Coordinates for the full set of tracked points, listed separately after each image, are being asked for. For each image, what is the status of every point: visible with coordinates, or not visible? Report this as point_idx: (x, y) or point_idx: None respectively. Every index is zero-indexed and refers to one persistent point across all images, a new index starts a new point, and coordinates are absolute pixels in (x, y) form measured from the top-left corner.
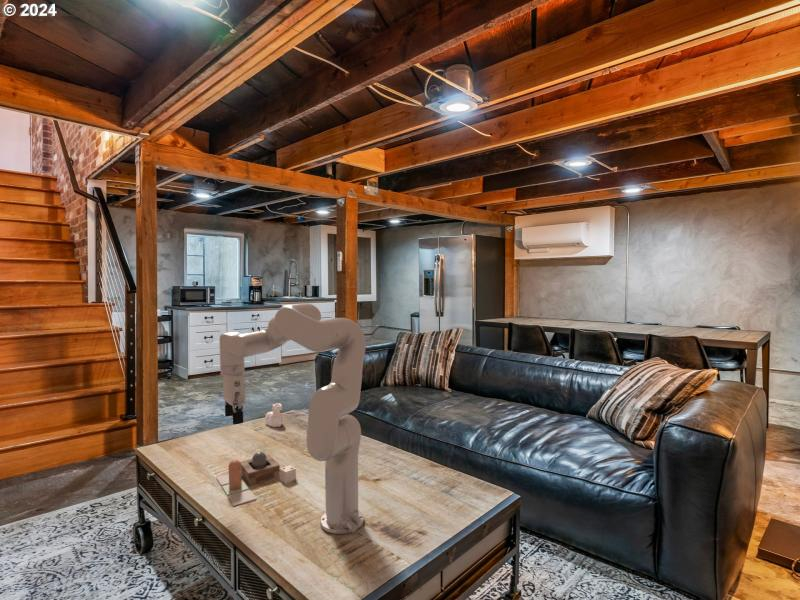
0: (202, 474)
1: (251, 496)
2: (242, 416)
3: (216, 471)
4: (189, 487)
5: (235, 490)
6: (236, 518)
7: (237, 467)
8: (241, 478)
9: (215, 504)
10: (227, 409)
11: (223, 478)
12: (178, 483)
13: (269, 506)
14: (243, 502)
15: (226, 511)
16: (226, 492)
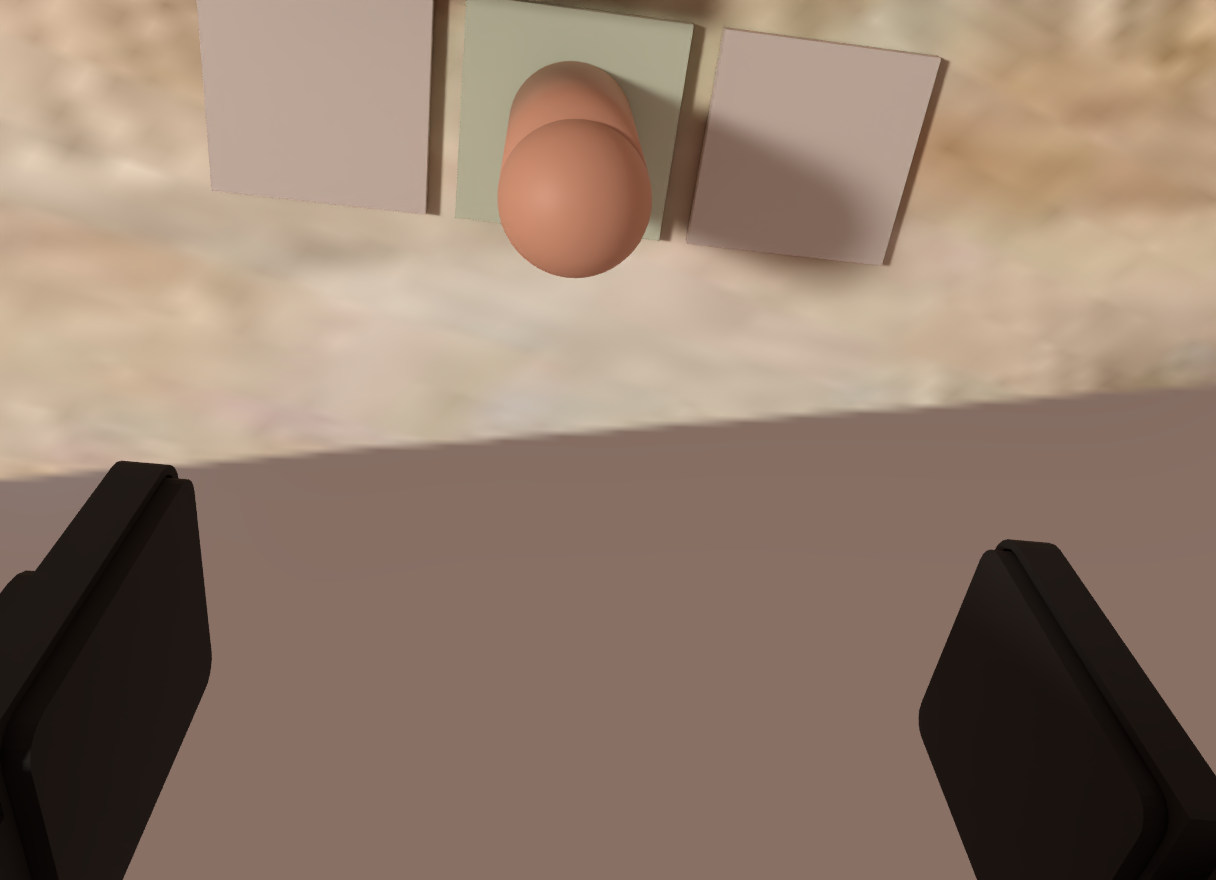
0: (37, 262)
1: (867, 79)
2: (1124, 677)
3: (27, 125)
4: (274, 423)
5: None
6: (1059, 313)
7: (651, 195)
8: (604, 89)
9: (726, 359)
10: (130, 807)
11: (286, 145)
12: None
13: (1151, 14)
14: (904, 184)
15: (900, 332)
16: None
